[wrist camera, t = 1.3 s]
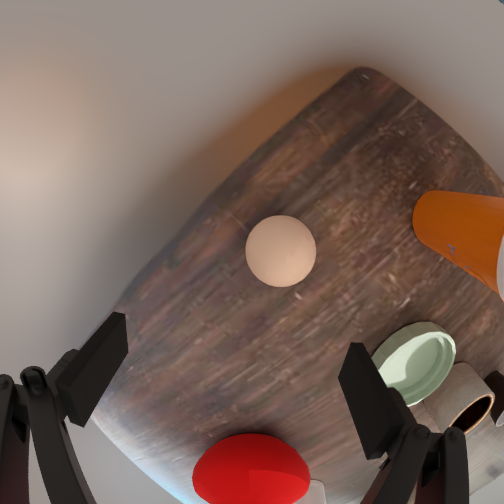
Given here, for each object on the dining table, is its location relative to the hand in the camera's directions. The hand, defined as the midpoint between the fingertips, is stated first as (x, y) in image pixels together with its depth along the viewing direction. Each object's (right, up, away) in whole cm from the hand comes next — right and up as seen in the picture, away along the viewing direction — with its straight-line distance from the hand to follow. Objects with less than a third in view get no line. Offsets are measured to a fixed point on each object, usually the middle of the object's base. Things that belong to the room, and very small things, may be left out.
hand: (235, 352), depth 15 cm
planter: (+36, -18, +22) cm, 46 cm away
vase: (+1, -28, +25) cm, 38 cm away
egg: (+4, +7, +16) cm, 17 cm away
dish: (+24, -11, +20) cm, 33 cm away
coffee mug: (+51, -21, +23) cm, 59 cm away
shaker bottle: (+23, +10, +15) cm, 29 cm away
